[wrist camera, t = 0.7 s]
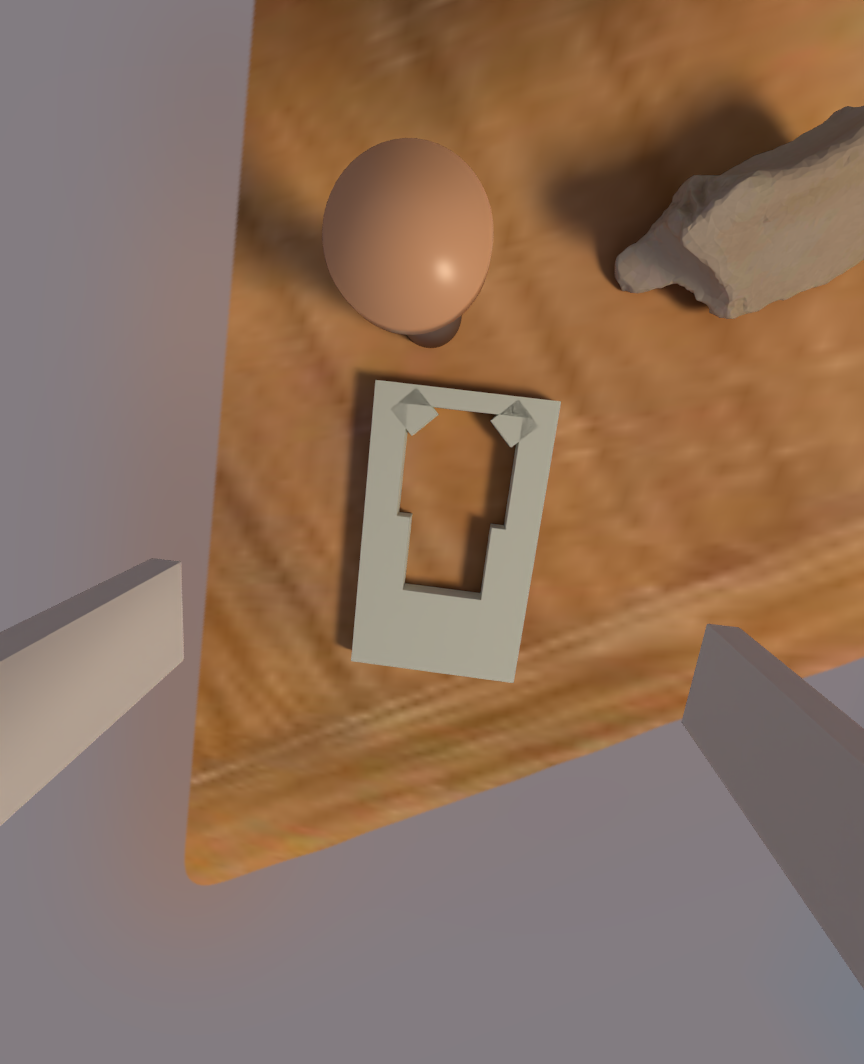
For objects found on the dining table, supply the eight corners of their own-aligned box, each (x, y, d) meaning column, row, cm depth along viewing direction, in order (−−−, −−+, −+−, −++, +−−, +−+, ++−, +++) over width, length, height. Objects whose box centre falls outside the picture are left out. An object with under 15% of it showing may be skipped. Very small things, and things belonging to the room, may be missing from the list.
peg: (387, 256, 32) (328, 129, 18) (486, 267, 32) (505, 147, 18) (378, 361, 34) (316, 318, 19) (473, 372, 33) (480, 337, 19)
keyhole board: (379, 381, 34) (375, 379, 32) (556, 402, 33) (561, 401, 32) (355, 651, 38) (351, 660, 37) (511, 672, 38) (513, 682, 36)
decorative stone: (599, 234, 31) (646, 169, 23) (839, 122, 29) (980, 10, 21) (641, 360, 33) (698, 341, 25) (871, 262, 31) (1015, 207, 23)
